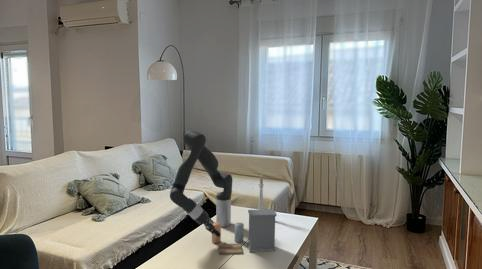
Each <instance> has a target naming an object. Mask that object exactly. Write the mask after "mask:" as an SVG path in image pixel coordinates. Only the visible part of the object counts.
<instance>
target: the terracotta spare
mask: <svg viewBox="0 0 482 269" xmlns="http://www.w3.org/2000/svg"><path fill="white" fill-rule="evenodd" d="M213 222H214V221H213ZM211 223H212V222H211ZM212 224H213V225H214V228H215V229H216V230H217V231H218V232H219V233H221V232H222V227H221V223H219V222H216V221H215V222H214V223H212ZM212 231H213V230H212ZM221 234H222V233H221ZM221 236H222V235H221ZM221 236H220V237H218V236H216V235H215V234H214V233H213V234H212V233H211V242H212V243H218V244H219V243H220V242H221V239H222V237H221Z"/></svg>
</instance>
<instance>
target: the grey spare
mask: <svg viewBox="0 0 482 269" xmlns="http://www.w3.org/2000/svg"><path fill="white" fill-rule="evenodd" d="M244 226H245V225H244V223H243V222H235V223H234V242H235V244H237V243H240V244H241V243H244V232H245V230H244Z"/></svg>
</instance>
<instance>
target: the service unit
mask: <svg viewBox="0 0 482 269" xmlns="http://www.w3.org/2000/svg"><path fill="white" fill-rule="evenodd" d="M247 212H248V242H247V249H248V251H249V253H263V252H266V253H267V252H276V250H277V249H276V246H275V241H276V240H275V239H276V238H275V237H276V236H275V235H276V230H275V229H276V217H277V213H276V211H275V210H274V208H270V209H268V208H267V209H264V208H263V210H258V209H248V210H247Z"/></svg>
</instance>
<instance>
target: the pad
mask: <svg viewBox="0 0 482 269" xmlns="http://www.w3.org/2000/svg"><path fill="white" fill-rule="evenodd" d="M218 252H219V255H220V256H221V255H223V256H224V255H239V254H240V255H241V254H243V248H242V245H241V243H218Z"/></svg>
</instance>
